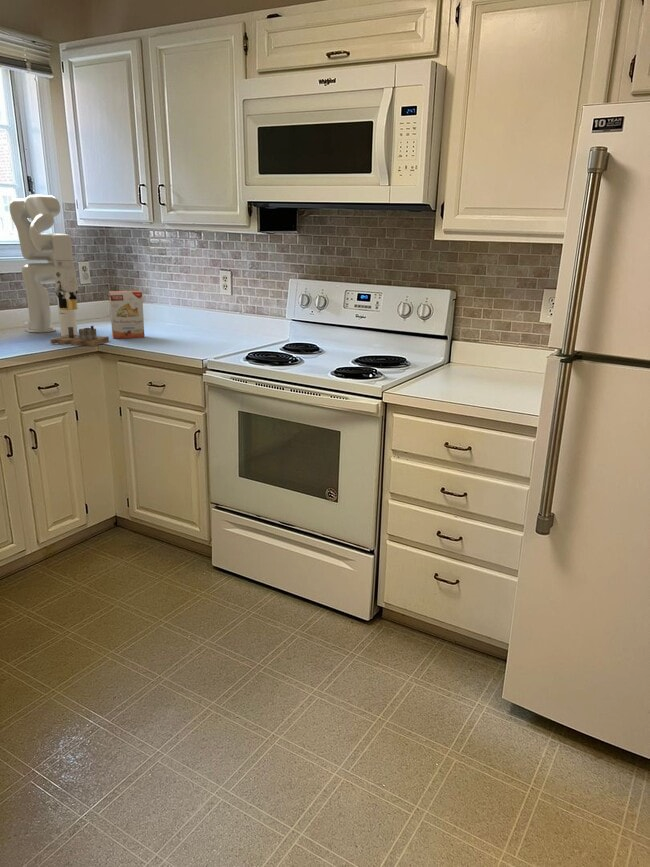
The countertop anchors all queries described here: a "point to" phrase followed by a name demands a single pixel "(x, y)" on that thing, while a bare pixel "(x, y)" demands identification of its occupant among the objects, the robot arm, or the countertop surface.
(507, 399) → the countertop surface
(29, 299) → the robot arm
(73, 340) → the gear board
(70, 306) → the brass gear
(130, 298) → the cracker box
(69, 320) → the cylindrical container
